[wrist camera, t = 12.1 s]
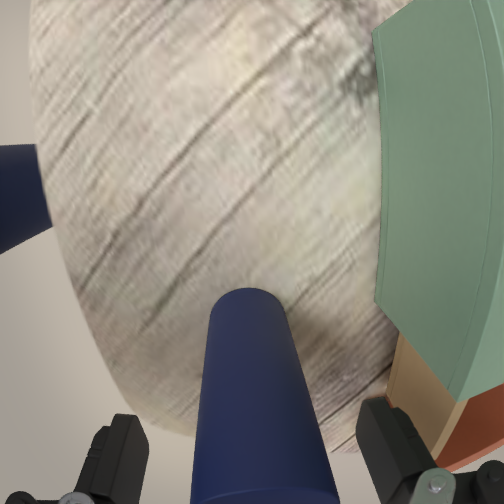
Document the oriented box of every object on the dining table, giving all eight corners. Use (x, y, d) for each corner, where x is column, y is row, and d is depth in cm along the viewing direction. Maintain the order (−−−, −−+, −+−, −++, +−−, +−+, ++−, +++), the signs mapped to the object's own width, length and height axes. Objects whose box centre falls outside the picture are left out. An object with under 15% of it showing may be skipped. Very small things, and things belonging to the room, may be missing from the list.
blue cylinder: (214, 354, 17) (203, 540, 6) (205, 289, 16) (172, 490, 5) (285, 348, 17) (329, 530, 7) (285, 284, 16) (352, 476, 5)
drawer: (476, 409, 20) (512, 456, 14) (357, 449, 20) (382, 518, 13) (535, 217, 15) (605, 246, 8) (398, 219, 14) (491, 267, 8)
